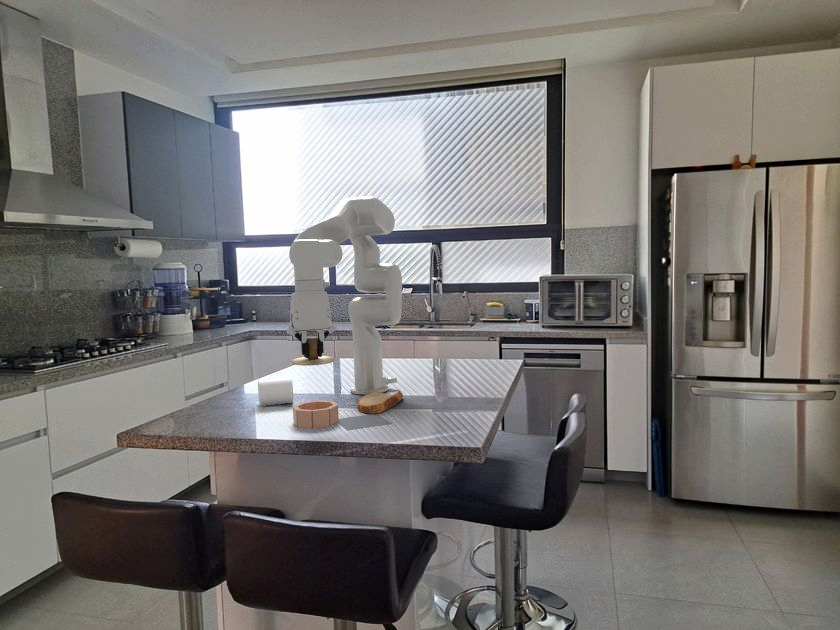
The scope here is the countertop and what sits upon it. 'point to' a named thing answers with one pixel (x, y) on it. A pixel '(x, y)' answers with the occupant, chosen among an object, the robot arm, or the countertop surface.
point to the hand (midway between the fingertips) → (312, 356)
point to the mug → (275, 391)
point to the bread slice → (378, 402)
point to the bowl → (315, 414)
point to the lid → (313, 355)
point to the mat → (363, 421)
